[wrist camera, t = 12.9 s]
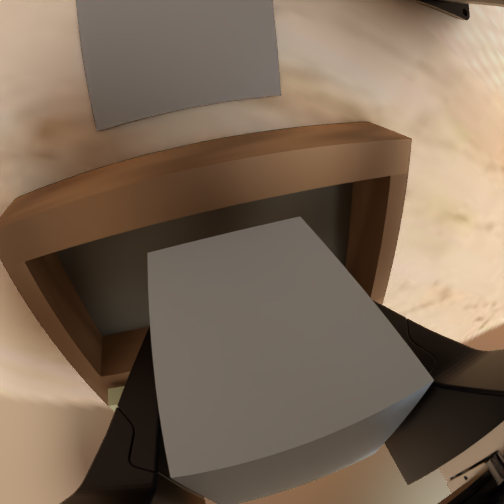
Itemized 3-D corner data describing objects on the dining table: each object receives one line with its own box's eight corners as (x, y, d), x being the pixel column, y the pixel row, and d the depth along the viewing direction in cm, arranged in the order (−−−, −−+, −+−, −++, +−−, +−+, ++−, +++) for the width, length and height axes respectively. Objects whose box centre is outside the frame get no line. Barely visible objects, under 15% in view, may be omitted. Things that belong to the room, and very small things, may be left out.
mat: (261, -57, 7) (264, -60, 6) (277, 94, 11) (280, 95, 11) (77, -31, 6) (74, -34, 5) (99, 129, 10) (97, 131, 9)
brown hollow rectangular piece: (368, 121, 13) (411, 138, 10) (347, 316, 20) (369, 347, 18) (16, 197, 10) (-13, 233, 7) (119, 378, 17) (120, 418, 15)
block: (299, 216, 9) (434, 379, 4) (299, 318, 12) (374, 453, 7) (147, 252, 8) (171, 478, 3) (185, 350, 11) (223, 506, 6)
